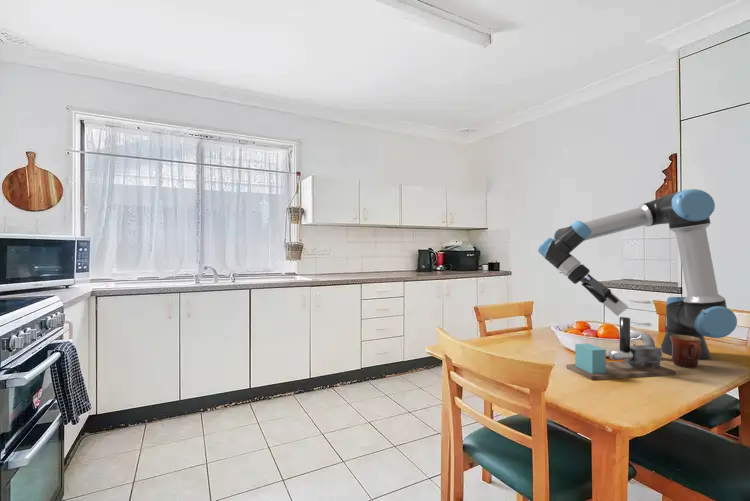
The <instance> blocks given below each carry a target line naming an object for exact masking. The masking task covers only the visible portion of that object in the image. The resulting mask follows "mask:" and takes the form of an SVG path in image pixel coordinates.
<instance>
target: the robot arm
mask: <svg viewBox="0 0 750 501" xmlns="http://www.w3.org/2000/svg"><path fill="white" fill-rule="evenodd" d="M715 204H716V202H715V200H714V199H713V196H712V195H710V193H708V192H706V191H704V190H702V189H695V188H694V189H693V188H692V189H683V190H679V191H677V192H674V193H670V194H665V195H663V196H661V197H659V198H655V199H653V200H650V201H648V202H645V203H642V204H639V205H638V207H636V208H633V209H632V208H631V209H629V210H625V211H621V212H617V213H613V214H611V215H607V216H604V217H599V218H596V219H592V220H589V221H585V222H583V221H581V220H575V221H574V222H573V223H571V224H570V226H566V227H561V228H558V229H557V230H555V232H554V233H553V238H551V237H547V239H546V240H544V241H542V242H541V244H540V245H539V246H538V248H537V252H538V253H539V254H540V255H541V256H542V258H544V259H545V260H546V261H548V263H550V264H551V265H552V266H553V267H554V268H555V269H556V270H558V273H559V274H562V275H563V276H565V277H567V279H568V281H571V282H572V283H573V284H575V285H576V284H578V283H579V282H581V286H582V287H584V288H585V289H586V290H587V291H588V292H589V294H591V295H592V296H593V297H594V298H595V299H596V300H597V301H598V302H599V303H601V304H603V305H604V306H605V307H607V308H608V310H609V311H610V312H612V313H613V314H614V315H615V316H617V317H618V316H620V314H622V313H623V312H625V311H626V310H627V309H628V308H629V306H628V305H627V304H626V303H624V302H623V301H622V300H621V299H620V298H619V297H618V296H616V295H615V294H614V293H612V291H611V290H612V289H610V288H609V287H607V286H606V285H604V284H603V283H601V282H600V281H598V280H597V279H595V278H594V277H593V276H592V275H591V274H590V269H589V268H588V267H587V266H585V265H584V264H581V263H582V262H581V261H580V260H578V259H577V258H576V257H575V256H574V255H572V254H571V252H573V250H575V249H576V248H577V247H578V246H580V244H582V243H583V242H585V241H588V240H592V239H596V238H600V237H605V236H607V235H612V234H615V233H619V232H623V231H624V232H625V231H628V230H631V229H635V228H639V227H643V226H645V227H652V226H657V225H664V224H665V225H666V224H668V226H669V230H670V231H672V232H674V233H675V236H676V242H677V248H678V252H679V258H680V263H681V268H682V272H683V278H684V284H685V285H684V286H685V289H686V294H687V295H686V296H669V297H667V298H666V304H665V316H666V317H665V320H666V322H665V323H666V324H665V326H666V328H665V330H666V331H665V335H664V336H663V337H664V338H663V340H662V343H661V344H660V348H661V352H662V353H664V354H667V355H670V356H672V341H671V338H670V335H687V336H693V337H697V338H700V339H701V342H700V344H699V345H700V346H701V356H700V358H699V360H705V359H709V358H710V357H711V352H710V350H709V347H708V345H707V344H708V343H707V342H706V339H705V337H707V338H713V339H720V338H725V337H727V336H729V335H731V333H733V332H734V330H736V328H737V326H738V318H737V316H736V314H735V313H734V312H733V311H732V310H731V309H730V308H729V307H727V302H726V298H725V297H724V296H722V295H721V294H719V291H718V287H717V286H718V285H717V280H716V275H715V269H714V265H713V259H712V254H711V250H710V244H709V243H710V242H709V238H708V232H707V228H708V227H709V226H710V225H711V224H712V223H711V220H710V217H711V215H712V214H713V213H714V212H715V208H716V206H715Z"/></svg>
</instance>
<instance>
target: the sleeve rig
mask: <svg viewBox="0 0 750 501" xmlns="http://www.w3.org/2000/svg"><path fill="white" fill-rule="evenodd" d="M630 350H633V351H634V359H627V360H620V361H610V362H609V361H608V362H607V361H606V373H598V374H592V373H589V372H587V371H585V370H583V369H581V368H578V367H576V366H575V363H573V364H566V365H565V366H566V367H565V368H566V369H567V370H570V371H572V372H574V373H576V374H578V375H580V376H583V377H584V378H586V379H588V380H590V379H591V381H596V380H597V379H598V380H612V379H613V378H614V379H626V378H628V379H629V378H642V377H643V378H644V377H654V376H655V377H657V376H673V375H676V374H677V373H676V370H674V369H672V368H671V369H670V368H668V367H665V366H663V365H660V363H661V361H662V360H661V359H662V358H661V357H662V356H661V352H662V351H661V347H657V346H655V347H654V346H650V345H644V344H638V345H636V346H630ZM611 378H612V379H611Z"/></svg>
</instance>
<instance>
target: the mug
mask: <svg viewBox="0 0 750 501" xmlns="http://www.w3.org/2000/svg"><path fill="white" fill-rule="evenodd" d="M670 338H671V341H672V355H671V358H672V359H671V360H672V362H673V364H674V365H675V366H678V367H682V368H687V369H694V368H697V367H698V366H699V362H700V359H699V358H700V356H701V346H700V345H699V344H700V342H701V339H700V338H697V337H693V336H687V335H670Z"/></svg>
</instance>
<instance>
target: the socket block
mask: <svg viewBox="0 0 750 501" xmlns="http://www.w3.org/2000/svg"><path fill="white" fill-rule="evenodd" d="M574 347H575V357H574V358H575V362H574V364H575V366H576V367H578V368H581V369H583V370H585V371H587V372H589V373H592V374H598V373H606V362H607V354H606V353H607V350H606V348H605V349H604V348H602V347H599V346H596V345H595V344H590V343H575V346H574Z"/></svg>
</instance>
